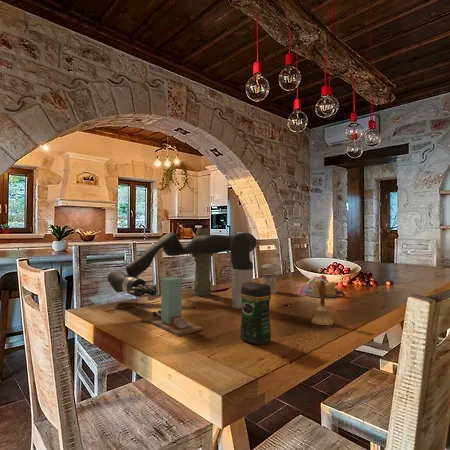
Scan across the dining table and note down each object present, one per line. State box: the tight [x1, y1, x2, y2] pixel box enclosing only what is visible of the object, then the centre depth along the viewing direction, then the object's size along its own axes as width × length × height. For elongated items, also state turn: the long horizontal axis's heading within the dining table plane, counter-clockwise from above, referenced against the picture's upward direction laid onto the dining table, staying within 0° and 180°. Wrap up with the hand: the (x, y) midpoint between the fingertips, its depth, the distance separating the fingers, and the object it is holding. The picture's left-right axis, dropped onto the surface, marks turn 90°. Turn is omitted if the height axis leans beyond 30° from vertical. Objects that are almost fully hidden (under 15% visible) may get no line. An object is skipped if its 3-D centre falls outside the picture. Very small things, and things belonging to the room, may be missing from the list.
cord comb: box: [142, 310, 203, 337], centre depth 119 cm, size 24×10×4 cm, turn 43°
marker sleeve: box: [160, 276, 183, 325], centre depth 119 cm, size 5×6×16 cm
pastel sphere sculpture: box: [298, 274, 346, 298], centre depth 177 cm, size 25×24×9 cm
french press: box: [261, 246, 278, 294], centre depth 178 cm, size 10×12×25 cm
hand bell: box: [310, 281, 334, 325], centre depth 123 cm, size 8×8×16 cm
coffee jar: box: [239, 281, 272, 345], centre depth 104 cm, size 10×8×19 cm
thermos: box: [191, 227, 214, 297], centre depth 170 cm, size 9×12×35 cm
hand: (154, 292), depth 128 cm, fingers closed
